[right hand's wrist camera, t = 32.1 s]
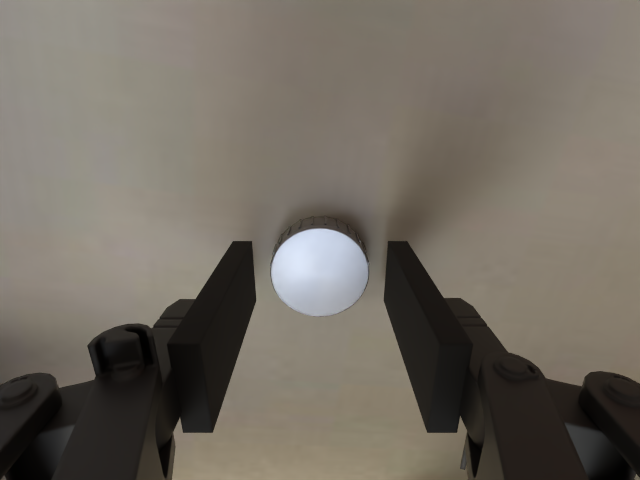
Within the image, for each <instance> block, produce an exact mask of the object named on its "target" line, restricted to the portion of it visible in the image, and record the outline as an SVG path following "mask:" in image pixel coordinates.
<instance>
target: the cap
mask: <svg viewBox="0 0 640 480" xmlns="http://www.w3.org/2000/svg"><path fill="white" fill-rule="evenodd" d="M368 265H369V261H368V258H367V255H366V250H365V247H364V244H363V242H362V243H361V241H360V239H359V236H358V233H357V232H356V233H355V232H354V231H353V230H352V229H351V228H350V227H349V225H348V224H347V225H346V224H344V223H342V222H340V221H339V220H338V219H336V220H335V219H332V218H327V217H326V216H324V217H314V216H312V218H307V219H304V220H301V219H300V220H299V222H297V223H295V224H294V225H292V226H291V225H290V226H289V228H288V229H287V230H286V231H285V233H284V234H281V236H280V239H279V242H278V244H276V245H275V248H274V251H273V257H272V261H271V264H270V266H271V281H272V284H273V287H274V289H275V292H276V293H277V295H278V296H279V298H280V299H281V300H282V301H283V302H284V303H285V304H286V305H287V306H289V307H290V308H292V309H293V310H295V311H297V312H300V313H302V314H305V315H309V316H320V317H321V316H330V315H334V314H337V313H340V312H342V311H344V310H346V309H348V308H349V307H351V306H352V305H353V304H354V303H355V302H356V301H357V300H358V299H359V298H360V297H361V296H362V294H363V292H364V290H365V288H366V286H367V283H368V278H369V266H368Z"/></svg>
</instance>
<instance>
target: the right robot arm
mask: <svg viewBox="0 0 640 480" xmlns="http://www.w3.org/2000/svg"><path fill="white" fill-rule="evenodd" d="M255 303H256V291H255V277H254V264H253V250H252V241H233V242H232V244H231V245H230V247H229V248H228V250H227V251H226V253H225V254H224V256H223V257H222V259H221V261H220V262H219V264H218V265H217V267H216V268H215V270H214V271H213V273H212V275H211V276H210V278H209V279H208V281H207V282H206V284H205V285H204V287H203V288H202V290H201V292H200V293H199V295H198V296H197V298H196V299H179V300H178V301H176V302H175V303H173V304H172V305H170V306H169V307H167V309H166V310H165V311H164V312H163V314H162V315H161V316H160V319H159V320H157V322H156V323H155V324H154V326H153V328H150V327H149V326H147V325H143V324H126V325H121V326H117V327H114V328H112V329H109V330H107V331H104V332H103V333H101V334H100V335H98V336H97V337H95V338H94V339H93V340H92V341H91V342H90V343H89V344H88V349H89V353H90V357H91V360H92V364H93V367H94V371H95V374H96V377H95V379H94V380H92V381H88V382H84V383H80V384H75V385H70V386H66V387H61V388H58V385H57V382H56V379H55V378H54V377H53V376H52V375H51V374H46V373H35V374H28V375H24V376H20V377H17V378H15V379H12V380H10V381H8V382H6V383H4V384H2V385H0V480H172V473H173V464H174V454H175V441H174V435H173V431H174V429H175V427H176V424H177V422H178V420H179V418H180V419H181V424H182V429H183V433H213V430H214V427H215V424H216V421H217V418H218V415H219V412H220V409H221V406H222V403H223V400H224V397H225V394H226V391H227V388H228V385H229V382H230V379H231V376H232V373H233V369H234V366H235V363H236V360H237V357H238V354H239V351H240V348H241V345H242V342H243V339H244V336H245V333H246V330H247V327H248V324H249V321H250V318H251V315H252V312H253V309H254V306H255ZM384 303H385V306H386V309H387V312H388V315H389V318H390V321H391V324H392V327H393V330H394V333H395V336H396V339H397V342H398V345H399V348H400V351H401V354H402V357H403V360H404V363H405V366H406V370H407V373H408V376H409V379H410V382H411V385H412V388H413V391H414V394H415V397H416V400H417V403H418V406H419V409H420V412H421V415H422V418H423V421H424V424H425V427H426V430H427V433H457V429H458V424H459V419H460V416H461V418H462V420H463V423H464V425H465V427H466V429H467V435H466V440H465V445H464V450H463V455H462V460H461V467H460V469H464V470H465V468H466V463H467V472H468V480H634V478H635V475H636V474H637V475H638V476H639V477H640V384H639V383H637V382H635V381H633V380H631V379H630V378H628V377H625V376H621V375H619V374H615V373H610V372H603V371H598V372H591V373H589V374H588V375H587V376H585V379H584V382H583V385H582V387H581V386H577V385H572V384H568V383H563V382H558V381H554V380H550V379H547V378H545V377H544V375H543V373H542V372H541V371H540V369H539V368H538V367H537V366H536V365H534V364H533V363H532V362H530V361H529V360H527V359H525V358H523V357H521V356H519V355H515V354H512V353H508V352H507V350H506V349H505V348H504V346H503V345H502V344H501V342H500V341H499V340H498V338H497V337H496V336H495V335H494V333H493V332H492V331H491V329H490V328H489V327H487V324H486V323H485V321H484V320H483V319H482V318H481V316H480V315H479V314H478V312H477V311H476V310H475V308H474V307H473V306H471V305H470V304H468V303H467V302H465V301H464V300H462V299H461V298H443V296H442V295H441V293H440V292H439V290H438V288H437V287H436V285H435V284H434V282H433V281H432V279H431V278H430V276H429V275H428V273H427V271H426V270H425V268H424V267H423V265H422V264H421V262H420V261H419V259H418V258H417V256H416V254H415V253H414V251H413V250H412V248H411V247H410V245H409V244H408V242H407V241H388V250H387V264H386V277H385V291H384Z"/></svg>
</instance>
